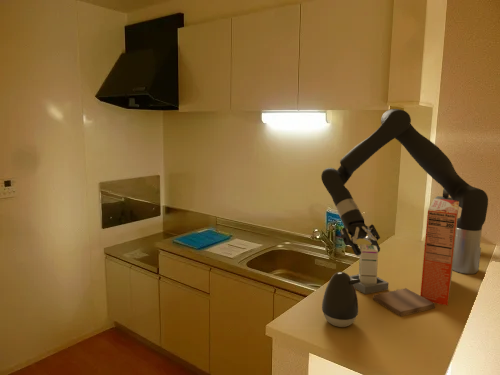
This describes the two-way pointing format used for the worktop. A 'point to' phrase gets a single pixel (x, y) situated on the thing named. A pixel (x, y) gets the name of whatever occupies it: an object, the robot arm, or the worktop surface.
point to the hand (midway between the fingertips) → (368, 253)
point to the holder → (372, 288)
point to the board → (403, 302)
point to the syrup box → (368, 264)
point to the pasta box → (439, 250)
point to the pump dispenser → (340, 300)
